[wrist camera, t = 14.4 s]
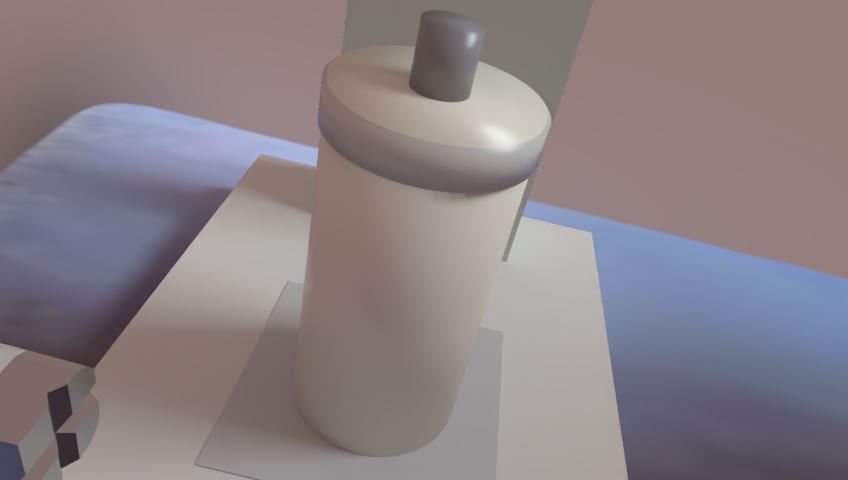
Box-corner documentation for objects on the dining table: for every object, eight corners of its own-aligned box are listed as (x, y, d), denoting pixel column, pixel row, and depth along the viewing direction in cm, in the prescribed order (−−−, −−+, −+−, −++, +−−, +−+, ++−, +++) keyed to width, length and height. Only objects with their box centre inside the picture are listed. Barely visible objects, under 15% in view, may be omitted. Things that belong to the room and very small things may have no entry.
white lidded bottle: (377, 308, 23) (443, -24, 17) (488, 399, 21) (618, 52, 14) (254, 375, 20) (276, -11, 13) (370, 494, 17) (469, 92, 11)
